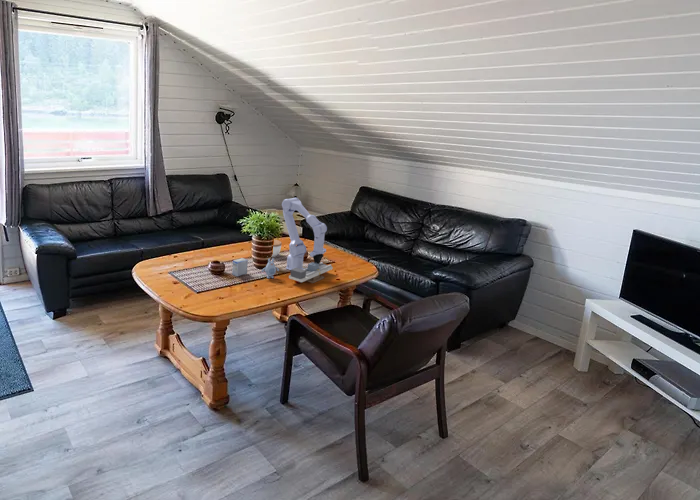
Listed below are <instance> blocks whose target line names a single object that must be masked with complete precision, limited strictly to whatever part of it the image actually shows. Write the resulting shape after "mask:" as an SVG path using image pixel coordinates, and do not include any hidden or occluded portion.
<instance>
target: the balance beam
mask: <svg viewBox="0 0 700 500" xmlns="http://www.w3.org/2000/svg"><path fill="white" fill-rule="evenodd" d="M332 270H333V266H332V264H324V262H322V261H320V264H319V269H317V270H316V271H313V272H311V271H308V267H305V269H299V268H294V269H291V270H290V275H288V279H290V280H294V281H296V282H298V283H303V282H308V283H311V284H314V283H316V282H319V281H321V280H324V279H325V276H323V275H322V274H324V273H325V274H326V273H327V272H329V271H332Z"/></svg>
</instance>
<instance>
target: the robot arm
mask: <svg viewBox="0 0 700 500" xmlns="http://www.w3.org/2000/svg"><path fill="white" fill-rule="evenodd" d="M281 207H282V215H283V219H284V222H285V226H286V230H287V233H288V236H289V239H290V243H289V245H288V248H289V254H288V255H287V257H286V267H285V269H287V270H289V271H291V269H294V268H299V269H305V268H306V267H305V268H304V267H303V265H304V256H305V254H306V253H307V247H306V244H304V240H302V239H301V238H300V236H299V231H298V228H297V225H296V221H295V218H294V216H293V215H294V212H295V211H297V212H299V214H301V215H302V216H303V217H304V219H305V221H306V223H307V224H308V225H309V226H310V227H311V228H312V231H313V235H314V240H313V250H311V251H310V253H309V257H311V258H313V262H314V263H318V264H320V262H322V258H323V257H324V254H325V253H326V252H327V248H324V245H325V234H326V232H327V230H328V226H327V225H326V223H324V222H322V221H320V220H319V219H318V218H317V216H316V215H314V214H310V213H309V211H308V210H307V209H306V207H304V205H303V203H302V201H301V200H300V199H299V198H298V197H296V196H295V197H293V198H284V199H283V200H282V202H281Z"/></svg>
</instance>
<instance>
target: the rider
mask: <svg viewBox="0 0 700 500" xmlns="http://www.w3.org/2000/svg"><path fill="white" fill-rule="evenodd" d="M307 268H308V271H311V272H313V271H316V270H317V269H319V264H318V263H314V261H311V262H310V263H308V264H307Z"/></svg>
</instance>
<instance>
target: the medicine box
mask: <svg viewBox="0 0 700 500" xmlns="http://www.w3.org/2000/svg"><path fill="white" fill-rule="evenodd" d="M248 261H249V260H248V259H246V258H244V257H242V258H237V259H233V260H232V266H231V267H232V270H231V275H233V276H235V277H240V276H244V275H247V274H248V266H249V265H248V264H249V263H248Z"/></svg>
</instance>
